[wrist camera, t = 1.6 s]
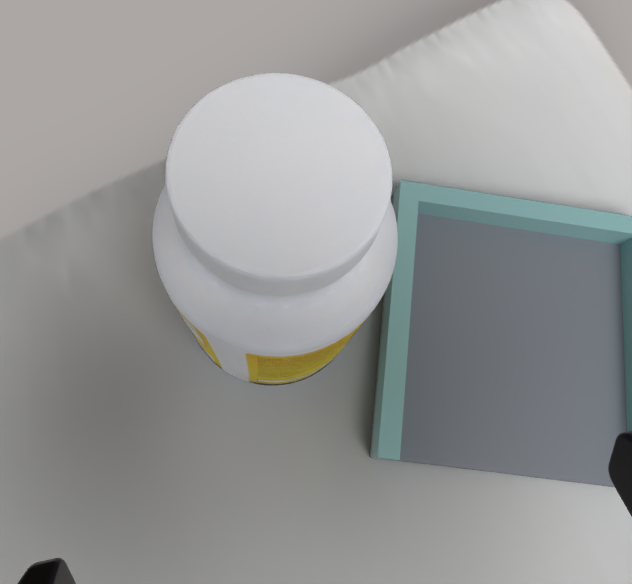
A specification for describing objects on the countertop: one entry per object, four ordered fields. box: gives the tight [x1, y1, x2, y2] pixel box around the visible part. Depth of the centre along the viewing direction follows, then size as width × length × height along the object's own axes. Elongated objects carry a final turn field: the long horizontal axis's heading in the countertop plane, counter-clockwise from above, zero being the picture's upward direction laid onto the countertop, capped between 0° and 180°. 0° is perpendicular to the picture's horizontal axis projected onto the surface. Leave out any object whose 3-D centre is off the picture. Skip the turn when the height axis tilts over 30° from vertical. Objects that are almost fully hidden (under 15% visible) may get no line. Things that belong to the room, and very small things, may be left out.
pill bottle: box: [152, 73, 398, 385], centre depth 17 cm, size 6×6×12 cm
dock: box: [370, 180, 632, 487], centre depth 22 cm, size 11×11×2 cm
